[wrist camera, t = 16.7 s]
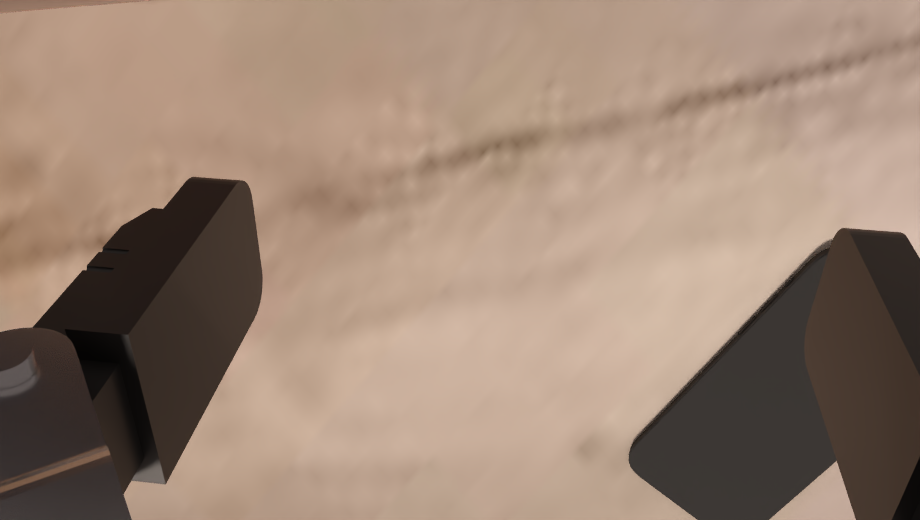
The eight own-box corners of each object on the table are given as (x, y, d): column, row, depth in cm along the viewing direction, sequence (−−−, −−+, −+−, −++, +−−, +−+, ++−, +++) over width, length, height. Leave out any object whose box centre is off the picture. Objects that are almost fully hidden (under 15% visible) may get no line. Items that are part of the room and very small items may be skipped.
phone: (617, 461, 43) (833, 239, 37) (619, 452, 44) (830, 233, 37) (736, 549, 43) (973, 343, 36) (736, 539, 44) (968, 335, 37)
